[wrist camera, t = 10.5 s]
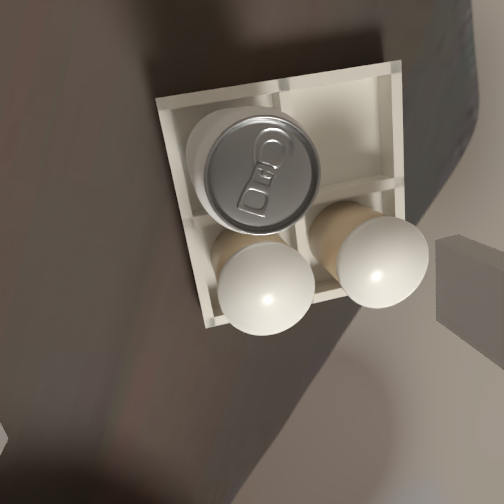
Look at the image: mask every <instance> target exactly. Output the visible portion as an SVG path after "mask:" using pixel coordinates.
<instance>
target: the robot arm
mask: <svg viewBox="0 0 504 504" xmlns="http://www.w3.org/2000/svg"><path fill="white" fill-rule="evenodd" d="M435 245H436V246H435V247H436V320H437V321H438V322H439V323H441V324H442V325H444V326H445V327H446V328H448V329H449V330H450V331H452V332H453V333H455V334H456V335H457V336H459V337H460V338H461V339H463V340H464V341H465V342H467V343H468V344H469V345H471V346H472V347H473V348H475V349H476V350H478V351H479V352H480V353H482V354H483V355H484V356H486V357H487V358H489V359H490V360H491V361H493V362H494V363H495V364H497V365H498V366H499V367H501V368H502V369H503V370H504V252H501V251H499V250H497V249H494V248H492V247H489V246H487V245H484V244H481V243H479V242H476V241H474V240H471V239H468V238H466V237H464V236H461V235H454V236H450V237H446V238H442V239H438V240H435ZM7 440H8V437H7V435H6V433H5V431H4V429H3V427H2V425H1V423H0V455H1V453H2V451H3V449H4V447H5V444H6V442H7Z"/></svg>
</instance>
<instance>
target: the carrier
mask: <svg viewBox="0 0 504 504" xmlns="http://www.w3.org/2000/svg"><path fill="white" fill-rule="evenodd" d="M155 100H156V104H157V109H158V113H159V118H160V122H161V127H162V131H163V136H164V141H165V145H166V150H167V154H168V159H169V163H170V168H171V172H172V177H173V181H174V186H175V191H176V195H177V200H178V204H179V209H180V213H181V218H182V222H183V227H184V231H185V236H186V241H187V245H188V250H189V254H190V259H191V263H192V268H193V272H194V277H195V281H196V286H197V291H198V295H199V300H200V304H201V309H202V313H203V318H204V322H205V327H206V328H209V327H214V326H218V325H222V324H227V323H230V322H229V321H228V320H227V319H226V317H225V316H224V314H223V312H222V310H221V307H220V304H219V300H218V295H217V281H216V278H215V274H214V271H213V267H212V263H211V251H212V247H213V244H214V242H215V240H216V238H217V237H218V235H219V234H220V233H221V232H222V231H223V230H224V229H225V228H226V227H224V226H223V225H221V224H220V223H218V222H217V221H216V220H215V219H213V218H212V217H211V216H210V215H209V214H208V212H207V211H206V210H205V209H204V207H203V206H202V204H201V202H200V200H199V198H198V196H197V194H196V191H195V189H194V186H193V183H192V180H191V177H190V174H189V171H188V167H187V163H186V145H187V141H188V138H189V135H190V133H191V131H192V130H193V128H194V127H195V125H196V124H197V123H198V122H199V121H200V120H201V119H202V118H204V117H205V116H206V115H208V114H210V113H212V112H214V111H217V110H221V109H227V108H235V107H244V106H264V107H270V108H274V109H277V110H279V111H281V112H284V113H286V114H287V115H289V116H291V117H292V118H293V119H295V120H296V121H297V122H298V123H299V124H300V125H301V126H302V127H303V128H304V129H305V131H306V132H307V134H308V135H309V137H310V139H311V141H312V142H313V144H314V146H315V148H316V150H317V153H318V156H319V160H320V166H321V180H320V186H319V190H318V193H317V196H316V198H315V201H314V203H313V204H312V206H311V208H310V209H309V211H308V212H307V213H306V214H305V215H304V216H303V218H302V219H300V220H299V221H298V222H297V223H296V224H294V225H293V226H291V227H290V228H288V229H286V230H284V231H281V232H278V233H277V234H278V235H279V236H280V237H281V238H282V239H283V240H284V241H285V242H286V243H287V244H288V245H289V246H291V247H292V248H294V249H295V250H296V251H298V252H299V253H300V254H301V255H302V256H303V257H304V259H305V260H306V261H307V262H308V264H309V265H310V267H311V269H312V272H313V275H314V280H315V291H314V296H313V300H312V303H311V304H313V303H317V302H321V301H326V300H330V299H334V298H338V297H343V296H347V294H346V293H345V292H344V291H343V289H342V288H341V286H340V284H339V282H338V281H337V280H336V279H335V278H334V277H333V276H332V275H331V274H330V273H329V272H328V271H327V270H326V269H325V268H324V267H323V266H322V265H321V264H320V263H319V262H318V261H317V260H316V259H315V258H314V256H313V255H312V253H311V250H310V247H309V231H310V228H311V225H312V223H313V221H314V219H315V218H316V216H317V215H318V214H319V213H320V212H321V211H322V210H323V209H324V208H325V207H327V206H329V205H330V204H332V203H335V202H338V201H344V200H350V201H355V202H358V203H360V204H362V205H365V206H367V207H369V208H371V209H373V210H375V211H378V212H380V213H382V214H384V215H386V216H392V217H397V218H400V219H402V220H405V202H404V157H403V112H402V67H401V60H397V61H391V62H384V63H378V64H372V65H365V66H359V67H352V68H346V69H340V70H333V71H327V72H320V73H314V74H308V75H301V76H295V77H288V78H282V79H276V80H269V81H263V82H256V83H250V84H243V85H237V86H231V87H224V88H218V89H211V90H205V91H199V92H192V93H186V94H179V95H173V96H167V97H160V98H155Z"/></svg>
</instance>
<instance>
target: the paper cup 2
mask: <svg viewBox="0 0 504 504" xmlns="http://www.w3.org/2000/svg"><path fill="white" fill-rule="evenodd" d="M309 247H310V250H311V253H312V255H313V256H314V258H315V259H316V260H317V261H318V262H319V263H320V264H321V265H322V266H323V267H324V268H325V269H326V270H327V271H328V272H329V273H330V274H331V275H332V276H333V277H334V278H335V279H336V280H337V281H338V282H339V284H340V286H341V288H342V289H343V291H344V292H345V293H346V294H347V295H348V296H349V297H350V298H351V299H352V300H354V301H355V302H356V303H358V304H360V305H362V306H365V307H369V308H384V307H389V306H392V305H394V304H397V303H399V302H401V301H402V300H404V299H405V298H407V297H408V296H409V295H410V294H411V293H412V292H413V291H414V290H415V289H416V288H417V287H418V285H419V284H420V282H421V281H422V279H423V277H424V275H425V272H426V270H427V266H428V260H429V259H428V258H429V251H428V245H427V242H426V239H425V237H424V236H423V234H422V233H421V232H420V230H419V229H418V228H417V227H416V226H414V225H413V224H411V223H409V222H407V221H405V220H402V219H400V218H397V217H392V216H386V215H384V214H382V213H380V212H378V211H375V210H373V209H371V208H369V207H367V206H365V205H362V204H360V203H358V202H355V201H350V200H344V201H338V202H335V203H332V204H330V205H329V206H327V207H325V208H324V209H323V210H322V211H321V212H320V213H319V214H318V215H317V216H316V218H315V219H314V221H313V223H312V225H311V228H310V231H309Z"/></svg>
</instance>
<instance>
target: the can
mask: <svg viewBox="0 0 504 504" xmlns="http://www.w3.org/2000/svg"><path fill="white" fill-rule="evenodd" d="M186 163H187V167H188V171H189V174H190V177H191V180H192V183H193V186H194V189H195V191H196V194H197V196H198V198H199V200H200V202H201V204H202V206H203V207H204V209H205V210H206V211H207V212H208V214H209V215H210V216H211V217H212V218H213V219H215V220H216V221H217V222H218V223H220V224H221V225H223V226H224V227H226V228H228V229H230V230H233V231H235V232H239V233H243V234H250V235H271V234H275V233H278V232H281V231H284V230H286V229H288V228H290V227H291V226H293V225H294V224H296V223H297V222H298V221H299V220H300V219H302V218H303V216H304V215H305V214H306V213H307V212H308V211H309V209H310V208H311V206H312V204H313V203H314V201H315V198H316V196H317V193H318V190H319V186H320V180H321V166H320V160H319V156H318V153H317V150H316V148H315V146H314V144H313V142H312V141H311V139H310V137H309V135H308V134H307V132H306V131H305V129H304V128H303V127H302V126H301V125H300V124H299V123H298V122H297V121H296V120H295V119H293V118H292V117H291V116H289V115H287V114H286V113H284V112H281V111H279V110H277V109H274V108H270V107H264V106H244V107H235V108H227V109H221V110H217V111H214V112H212V113H210V114H208V115H206V116H205V117H204V118H202V119H201V120H200V121H199V122H198V123H197V124H196V125H195V127H194V128H193V130H192V131H191V133H190V135H189V138H188V141H187V145H186Z"/></svg>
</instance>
